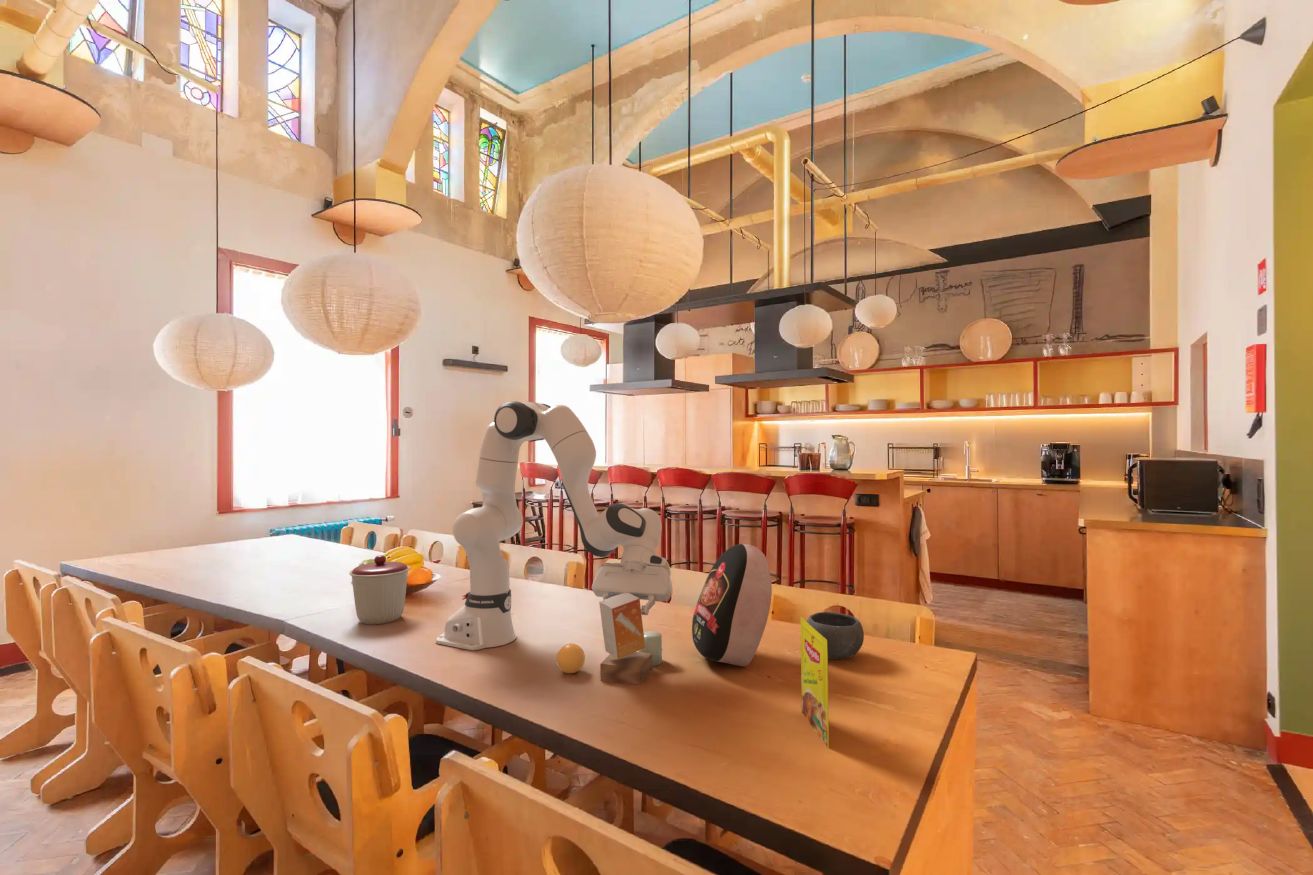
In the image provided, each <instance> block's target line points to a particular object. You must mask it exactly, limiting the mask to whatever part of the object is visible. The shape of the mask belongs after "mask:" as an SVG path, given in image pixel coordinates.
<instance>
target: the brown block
mask: <svg viewBox="0 0 1313 875" xmlns="http://www.w3.org/2000/svg"><path fill="white" fill-rule="evenodd" d="M599 667H600V671H599V673H600V681H603V682H613V683H621V684H629V685H630V684H632V685H639V686H640V685H642V683H643V682H644V681H645V679H646V678H647V676H649V674H650V673H651V672H652V671H653V666H652V653H643V652H639V651H636V652H634V653H632V654H629V655H627V656H625V657H622V658H620V659H616V658H615V657H613V656H612V655H611V654H609V655H608V656H607V657H605V659H603V661H601V663H600V664H599Z"/></svg>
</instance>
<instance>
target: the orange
mask: <svg viewBox="0 0 1313 875" xmlns="http://www.w3.org/2000/svg"><path fill="white" fill-rule="evenodd" d="M585 660H586V654H585V651H584V649H583V648H582V646H580V645H579V644H576V643H572V642H571V643H567V644H564V645H562V646H561V648H560V649H559V650H558V652H557V654H556V665H557V666H558V668H559V669H560V670H561V671H562V672H564V673H565V674H574V673H577V672H579V671H580V670H581V669H582V668H583V667H584V664H585Z"/></svg>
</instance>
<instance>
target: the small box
mask: <svg viewBox="0 0 1313 875" xmlns="http://www.w3.org/2000/svg"><path fill="white" fill-rule="evenodd" d="M598 603H599V610H600V612H599V613H600V618H601V627H602V635H603V641H604V642H603V643H604V649H605V652H606V653H608V654H609V655H610V654H611V655H612V656H613V657H615V658H616V659H620V658H622V657H625V656H627V655H629V654H632V653H634V652H639V650H641V649H644V648H645V641H644V632H645V631H644V624H643V615H642V613H641V609H642V605H641V599H639V598H638V597H636V596H634V595H632V594H630V593H622V594H619V595H616V596H613V597H610V598H608V599H606V600H603V599H602V600H601V601H599V602H598Z"/></svg>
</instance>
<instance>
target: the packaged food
mask: <svg viewBox="0 0 1313 875" xmlns="http://www.w3.org/2000/svg"><path fill="white" fill-rule="evenodd" d="M772 587H773V586H772V577H771V572H770V566H769V563H768V559H767V557H766V555H765V553H763V552H762V550H760V549H759V547H756V546H755V545H752V544H746V543H737V544H735V545H733V546H730V547H729V548H728V549H726V550H725V551H724V552H723V553H722V554H721V555H720V556H719V557H718V558H717V560H716V561H715V562H714V564H713V566H712V568H711V569H710V570H709V572H708V575H707V577H706V579H705V581H704V584H703V587H702V590H701V591H700V595H699V597H698V600H697V603H696V605H695V609H694V612H693V615H692V616H693V617H692V622H691V623H692V624H691V625H692V626H691V635H692V642H693V644H694V647H695V649H696V650H697V651H698V652H699V654H700V655H701V656H702V657H704V658H706V660H709V661H712V662H717V663H718V662H719V663H724V664H730V665H733V666H738V667H746V666H748V665H750V663H751V662H752V661H753V659H754V657H755V655H756V653H757V651H758V647H759V646H760V643H761V640H762V638H763V635H764V631H765V630H766V627H767V626H766V625H767V623H768V619H769V614H770V609H771V603H772V595H773V594H772V593H773V592H772V590H773V589H772Z"/></svg>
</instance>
